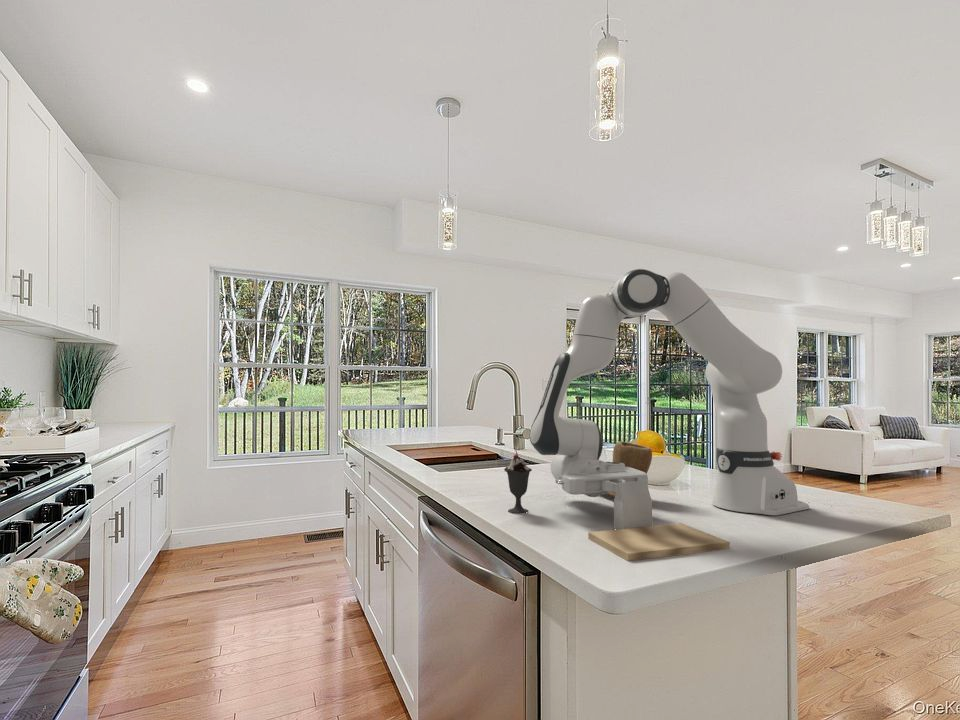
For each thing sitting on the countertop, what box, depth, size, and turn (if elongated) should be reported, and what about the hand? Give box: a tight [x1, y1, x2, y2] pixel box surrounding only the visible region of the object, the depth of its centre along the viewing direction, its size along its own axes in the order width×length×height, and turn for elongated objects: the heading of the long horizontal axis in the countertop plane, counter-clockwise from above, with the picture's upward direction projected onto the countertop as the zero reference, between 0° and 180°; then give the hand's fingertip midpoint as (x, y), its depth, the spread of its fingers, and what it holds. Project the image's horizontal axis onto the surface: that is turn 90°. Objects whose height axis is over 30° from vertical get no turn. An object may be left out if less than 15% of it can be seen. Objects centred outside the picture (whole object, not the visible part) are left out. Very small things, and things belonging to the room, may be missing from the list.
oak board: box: [587, 522, 731, 562], centre depth 99 cm, size 22×14×1 cm, turn 108°
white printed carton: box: [613, 481, 653, 530], centre depth 109 cm, size 4×7×10 cm, turn 105°
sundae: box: [504, 447, 533, 514], centre depth 124 cm, size 7×7×15 cm
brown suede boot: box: [605, 440, 653, 498], centre depth 139 cm, size 15×12×15 cm
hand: (623, 488), depth 112 cm, fingers closed
